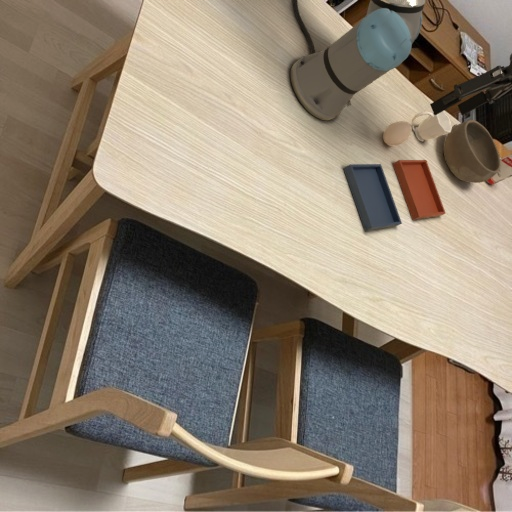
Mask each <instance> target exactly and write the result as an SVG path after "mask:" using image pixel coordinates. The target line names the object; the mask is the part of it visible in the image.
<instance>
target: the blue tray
mask: <svg viewBox="0 0 512 512" xmlns="http://www.w3.org/2000/svg"><path fill="white" fill-rule="evenodd" d="M343 171H344V174H345V177H346V180H347V183H348V186H349V189H350V191H351V194H352V197H353V200H354V203H355V206H356V209H357V212H358V215H359V218H360V221H361V224H362V227H363V229H364V232H368V231H377V230H382V229H388V228H395V227H398V226H401V225H402V224H403V223H402V219H401V217H400V214H399V211H398V208H397V206H396V202H395V200H394V197H393V194H392V192H391V188H390V185H389V183H388V180H387V178H386V175H385V174H386V173H385V171H384V169H383V166H382V164H381V163H366V164H365V163H362V164H361V163H360V164H349V165H347V166H345V167H343Z"/></svg>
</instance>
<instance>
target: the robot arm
mask: <svg viewBox="0 0 512 512" xmlns="http://www.w3.org/2000/svg"><path fill="white" fill-rule="evenodd" d="M292 1H293V10H294V14H295V17H296V20H297V22H298V24H299V26H300V28H301V30H302V32H303V34H304V36H305V37H306V39H307V42H308V45H309V48H310V52H311V54H307V55H304V56H302V57H300V58H299V59H298V60H296V61H295V62H294V63H293V64H292V66H291V69H290V82H291V87H292V89H293V92H294V94H295V96H296V98H297V100H298V101H299V102H300V104H301V106H303V108H304V109H305V110H306V111H307V112H308V113H309V114H311V116H313V117H315V118H317V119H319V120H323V121H330V120H332V119H334V118H336V117H337V116H339V115H340V114H341V113H342V111H343V110H344V108H345V107H347V108H349V107H350V106H351V105H352V102H351V99H352V98H353V97H354V96H355V94H358V93H359V92H360V91H361V90H363V89H365V88H366V87H367V86H369V85H370V84H372V83H373V82H376V80H378V79H379V78H381V77H383V76H384V75H386V74H387V73H388V72H390V71H392V70H394V69H396V68H398V67H399V66H401V65H402V63H403V62H404V61H405V60H406V59H407V58H408V57H409V56H410V54H411V50H412V45H413V44H414V43H415V40H417V39H418V37H419V34H420V33H421V28H422V25H423V24H422V23H423V11H424V7H425V5H426V2H427V1H426V0H369V4H368V7H367V11H366V15H365V16H364V17H363V18H361V20H359V22H356V24H355V25H354V26H353V27H352V28H350V29H349V30H348V31H346V32H345V33H344V34H343V35H342V36H340V37H339V38H338V39H337V40H335V41H334V42H333V43H331V45H329V46H328V47H326V48H325V49H323V50H320V51H316V48H315V45H314V42H313V39H312V37H311V35H310V33H309V31H308V29H307V27H306V25H305V23H304V21H303V19H302V17H301V14H300V11H299V5H298V0H292ZM452 87H453V90H451V91H450V92H449V93H447V94H445V95H443V96H442V97H439V98H438V99H436V100H434V101H433V102H431V103H429V105H430V107H431V110H432V114H433V113H434V115H437V114H439V113H441V112H442V111H444V112H445V111H446V110H447V109H450V108H451V107H453V106H455V105H457V108H458V111H459V112H460V115H461V116H464V115H467V114H469V113H471V112H472V111H473V110H476V109H477V108H479V107H481V106H483V105H485V104H487V103H489V105H492V104H494V103H495V101H496V100H499V99H500V98H501V97H503V96H504V95H505V94H508V92H509V91H511V90H512V53H511V54H510V55H509V65H507V66H504V65H503V66H502V65H497V66H495V67H493V68H492V69H490V70H487V71H486V72H483V73H481V74H478V75H476V76H474V77H472V78H470V79H468V80H466V81H463V82H461V83H459V84H457V83H456V84H454V85H453V86H452ZM468 97H470V98H468ZM465 98H468V99H466V100H464V101H462V100H463V99H465Z"/></svg>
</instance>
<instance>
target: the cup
mask: <svg viewBox="0 0 512 512" xmlns="http://www.w3.org/2000/svg"><path fill="white" fill-rule="evenodd" d="M424 115H425V116H426V115H427V117H426V118H425V119H424V120H423V121H421V123H419V125H418V126H414V122H415V120H416V118H418V117H422V116H424ZM411 126H412V131H413V132H414V135H415V137H416V138H417V139H418V141H420V142H424V141H428V140H432V139H436V138H439V137H441V136H444V135H447V134H448V133H450V132H451V129H452V127H453V126H452V122H451V119H450V117H449V116H448V113H446V112H445V110H444V111H442V112H441V113H439V114H437V115H434V113H433V112H431V111H421V112H418V113H416V114H415V115H414V116H413V117H412V119H411Z"/></svg>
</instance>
